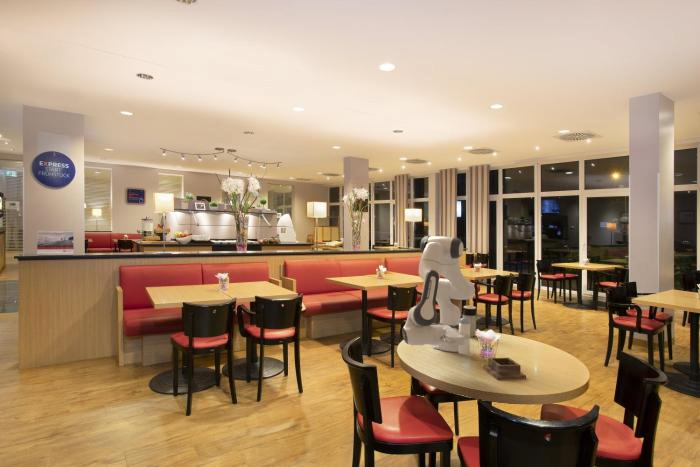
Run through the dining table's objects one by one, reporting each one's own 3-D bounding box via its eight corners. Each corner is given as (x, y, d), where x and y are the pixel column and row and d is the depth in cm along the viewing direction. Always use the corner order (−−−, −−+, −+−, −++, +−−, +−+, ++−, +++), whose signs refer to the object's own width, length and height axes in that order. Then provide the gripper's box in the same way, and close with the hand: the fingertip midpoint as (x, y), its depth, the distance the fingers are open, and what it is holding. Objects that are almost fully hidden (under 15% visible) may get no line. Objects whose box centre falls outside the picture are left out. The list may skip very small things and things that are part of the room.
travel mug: (478, 336, 245) (479, 307, 245) (469, 337, 241) (469, 308, 241) (468, 332, 252) (469, 305, 252) (459, 334, 248) (460, 306, 248)
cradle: (482, 368, 190) (483, 356, 190) (510, 367, 192) (510, 356, 192) (497, 379, 176) (497, 367, 176) (526, 378, 178) (526, 366, 178)
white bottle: (456, 350, 184) (457, 316, 183) (466, 350, 185) (467, 316, 184) (460, 354, 179) (461, 318, 178) (471, 354, 180) (472, 318, 179)
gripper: (445, 335, 170) (476, 334, 171) (430, 322, 190) (457, 321, 191) (445, 349, 170) (475, 348, 171) (430, 335, 190) (457, 334, 192)
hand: (466, 334), depth 182 cm, fingers closed on white bottle, 5 cm apart
